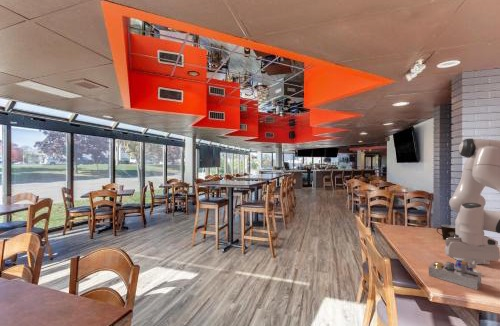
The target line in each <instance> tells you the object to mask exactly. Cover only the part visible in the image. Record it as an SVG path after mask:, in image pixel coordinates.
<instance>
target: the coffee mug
mask: <svg viewBox="0 0 500 326" xmlns="http://www.w3.org/2000/svg"><path fill="white" fill-rule="evenodd" d="M439 229H441V233H440V232H439V231H438V230H439ZM436 232H437V233H438V234H439V235H440V236H441V237H442V240H443V241H445V240H446V239H447V238H449V237H454V234H455V225H450V224H441V225H440V227H437V228H436Z"/></svg>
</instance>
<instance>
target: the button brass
mask: <svg viewBox="0 0 500 326" xmlns="http://www.w3.org/2000/svg"><path fill="white" fill-rule="evenodd" d="M434 262H435V266H436V267H440V268H443V264H444V263H443V262H439V261H434Z"/></svg>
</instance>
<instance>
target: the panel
mask: <svg viewBox="0 0 500 326" xmlns="http://www.w3.org/2000/svg"><path fill="white" fill-rule="evenodd" d="M435 262H436V261H433V262H432V263H431V264H429V266H428V276H430V277H433V278H435V279H439V280H442V281H446V282H449V283H453V284H456V285H458V286H463V287H466V288H469V289H473V290H475V291H478V289H479V288H480V286H481V284H482V273H481V272H479V273H477V272H478V271H477V272H473V271H470V270H467V272H466V273H461V268H458V267H454V271H451V270H448V269H446V263H442V264H443V268H440V267H436V266H435Z"/></svg>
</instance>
